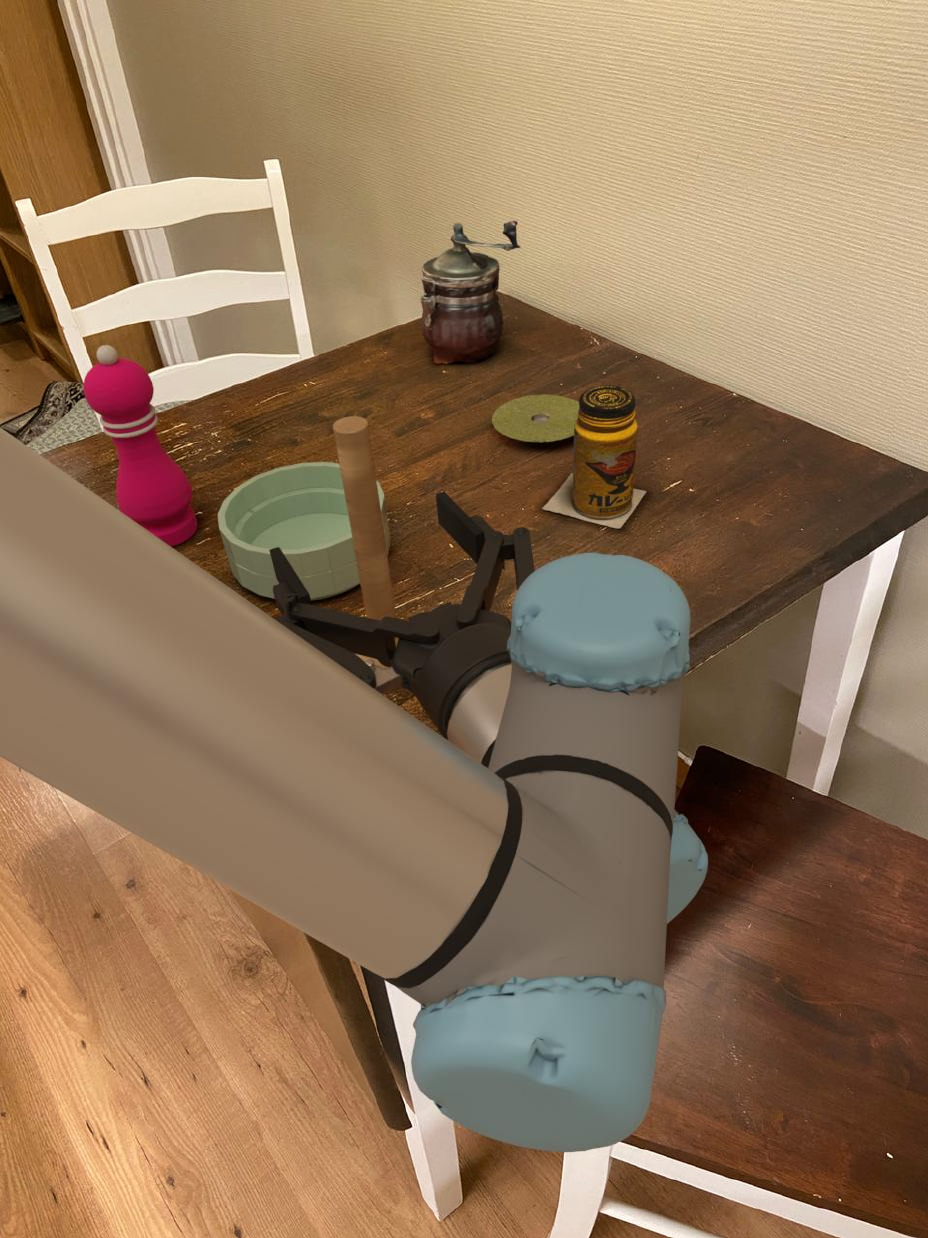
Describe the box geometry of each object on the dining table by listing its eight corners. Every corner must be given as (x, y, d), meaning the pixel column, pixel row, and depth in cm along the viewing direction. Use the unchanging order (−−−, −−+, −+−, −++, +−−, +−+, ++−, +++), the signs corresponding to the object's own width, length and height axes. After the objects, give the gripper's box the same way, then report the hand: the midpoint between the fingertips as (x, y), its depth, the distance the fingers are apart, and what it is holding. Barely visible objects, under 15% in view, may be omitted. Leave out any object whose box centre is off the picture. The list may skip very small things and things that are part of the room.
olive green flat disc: (596, 411, 105) (596, 396, 103) (582, 460, 97) (583, 444, 95) (503, 406, 107) (503, 391, 106) (482, 452, 99) (482, 437, 98)
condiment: (620, 530, 86) (627, 419, 78) (541, 510, 90) (541, 402, 82) (646, 493, 91) (656, 384, 83) (571, 475, 94) (573, 370, 86)
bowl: (215, 608, 81) (198, 556, 77) (252, 514, 92) (239, 464, 88) (382, 604, 80) (373, 551, 76) (397, 509, 91) (391, 459, 87)
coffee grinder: (501, 383, 112) (496, 236, 100) (405, 363, 118) (389, 222, 107) (547, 345, 120) (547, 204, 108) (455, 328, 126) (445, 193, 115)
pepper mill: (130, 520, 93) (62, 338, 80) (200, 506, 94) (144, 323, 81) (132, 559, 88) (59, 369, 75) (205, 542, 89) (147, 354, 76)
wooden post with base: (350, 684, 72) (302, 446, 58) (359, 638, 76) (316, 406, 62) (418, 682, 72) (386, 443, 57) (423, 636, 76) (395, 403, 62)
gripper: (314, 832, 51) (215, 627, 66) (661, 676, 59) (505, 524, 74) (289, 746, 46) (189, 546, 61) (672, 588, 54) (502, 445, 69)
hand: (361, 533), depth 67 cm, fingers open, 13 cm apart
